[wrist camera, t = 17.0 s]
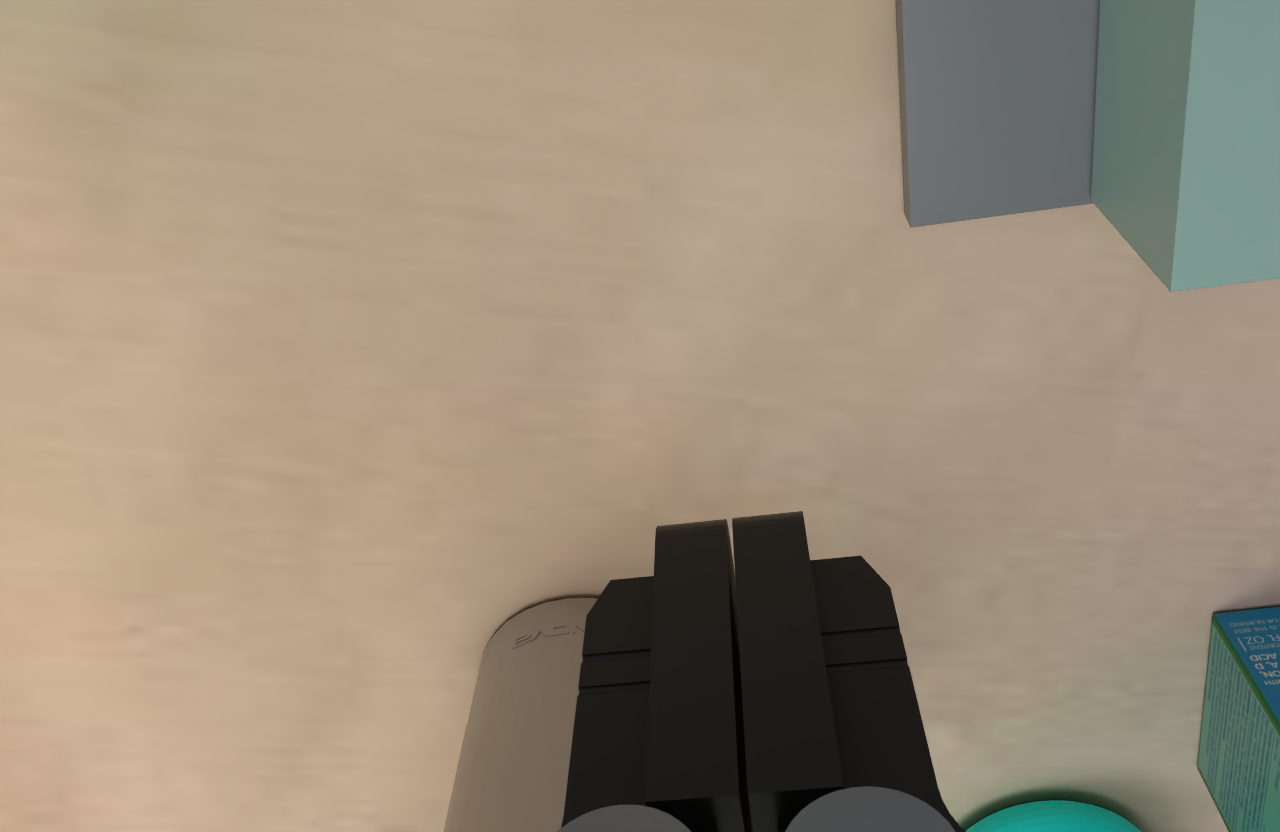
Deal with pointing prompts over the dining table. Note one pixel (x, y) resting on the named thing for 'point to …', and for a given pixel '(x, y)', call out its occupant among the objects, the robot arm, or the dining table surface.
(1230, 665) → the milk carton
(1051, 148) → the rail
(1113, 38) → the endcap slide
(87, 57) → the dining table surface
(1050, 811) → the donuts
